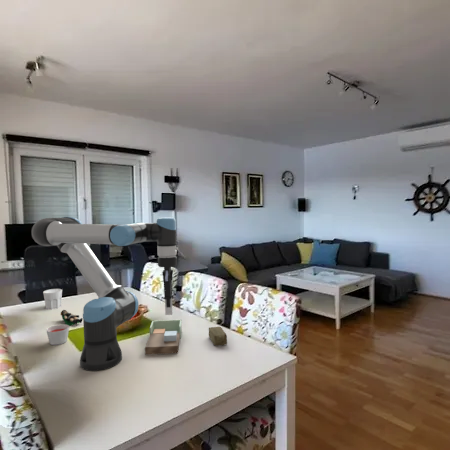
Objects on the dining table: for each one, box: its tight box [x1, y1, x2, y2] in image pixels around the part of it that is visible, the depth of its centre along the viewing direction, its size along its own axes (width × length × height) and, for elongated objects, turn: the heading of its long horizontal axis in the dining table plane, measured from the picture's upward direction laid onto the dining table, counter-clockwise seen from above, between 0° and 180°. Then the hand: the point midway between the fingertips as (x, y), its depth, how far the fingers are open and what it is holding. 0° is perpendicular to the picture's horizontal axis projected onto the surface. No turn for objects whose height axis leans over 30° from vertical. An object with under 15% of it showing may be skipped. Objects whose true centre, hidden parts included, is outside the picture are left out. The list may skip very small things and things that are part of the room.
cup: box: [42, 288, 63, 310], centre depth 196 cm, size 10×10×10 cm
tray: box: [149, 319, 183, 340], centre depth 150 cm, size 14×9×6 cm, turn 95°
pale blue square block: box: [164, 331, 177, 341], centre depth 139 cm, size 5×5×2 cm
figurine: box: [60, 309, 83, 327], centre depth 169 cm, size 8×6×15 cm
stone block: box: [208, 326, 228, 347], centre depth 143 cm, size 6×12×5 cm, turn 17°
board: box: [144, 333, 181, 355], centre depth 138 cm, size 13×14×3 cm
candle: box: [45, 323, 70, 346], centre depth 145 cm, size 9×9×6 cm
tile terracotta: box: [153, 329, 165, 334], centre depth 148 cm, size 5×5×2 cm
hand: (168, 314), depth 132 cm, fingers closed
